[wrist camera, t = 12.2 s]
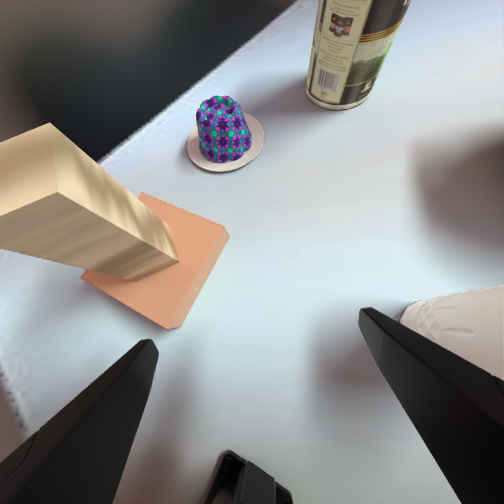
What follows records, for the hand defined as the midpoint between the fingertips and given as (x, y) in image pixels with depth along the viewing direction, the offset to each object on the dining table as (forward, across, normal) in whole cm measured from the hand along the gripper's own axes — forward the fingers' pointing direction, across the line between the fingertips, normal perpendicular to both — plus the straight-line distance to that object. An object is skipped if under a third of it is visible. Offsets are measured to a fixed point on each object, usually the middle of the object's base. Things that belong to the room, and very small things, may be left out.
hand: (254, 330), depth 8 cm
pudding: (+28, +2, -10) cm, 30 cm away
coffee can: (+33, -17, -15) cm, 40 cm away
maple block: (+14, +11, +1) cm, 18 cm away
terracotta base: (+16, +11, +3) cm, 20 cm away
